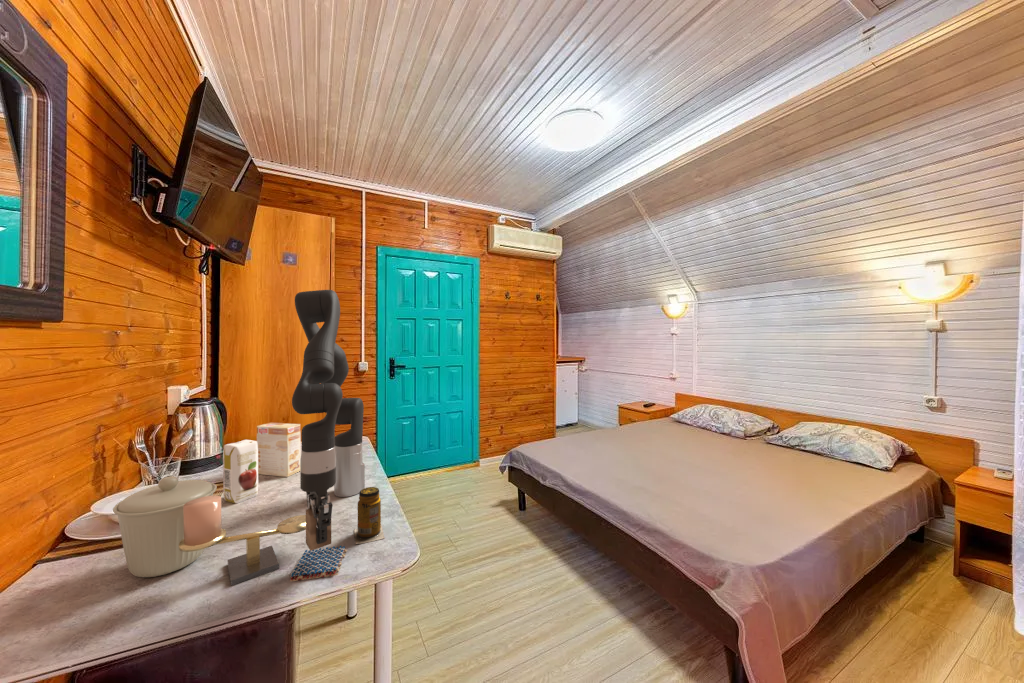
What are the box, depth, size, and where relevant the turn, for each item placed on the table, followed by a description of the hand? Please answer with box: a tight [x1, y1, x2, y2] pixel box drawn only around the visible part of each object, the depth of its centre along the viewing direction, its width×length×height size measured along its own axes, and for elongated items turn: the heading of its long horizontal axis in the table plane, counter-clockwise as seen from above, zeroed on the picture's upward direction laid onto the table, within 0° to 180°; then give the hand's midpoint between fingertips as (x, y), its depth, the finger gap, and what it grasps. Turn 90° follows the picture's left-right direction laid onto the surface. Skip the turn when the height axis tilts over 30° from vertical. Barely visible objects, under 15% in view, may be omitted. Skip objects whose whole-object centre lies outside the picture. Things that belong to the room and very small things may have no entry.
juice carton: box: [222, 439, 259, 504], centre depth 124 cm, size 8×9×19 cm
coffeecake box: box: [256, 422, 302, 478], centre depth 147 cm, size 15×7×20 cm, turn 77°
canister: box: [112, 475, 217, 578], centre depth 88 cm, size 18×18×21 cm
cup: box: [183, 495, 223, 546], centre depth 81 cm, size 6×6×8 cm
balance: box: [179, 514, 306, 587], centre depth 87 cm, size 26×10×10 cm, turn 132°
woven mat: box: [289, 545, 348, 582], centre depth 87 cm, size 10×11×2 cm
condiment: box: [353, 486, 386, 545], centre depth 101 cm, size 7×8×12 cm
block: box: [305, 508, 332, 552], centre depth 87 cm, size 4×4×8 cm
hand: (318, 537), depth 87 cm, fingers closed on block, 4 cm apart
